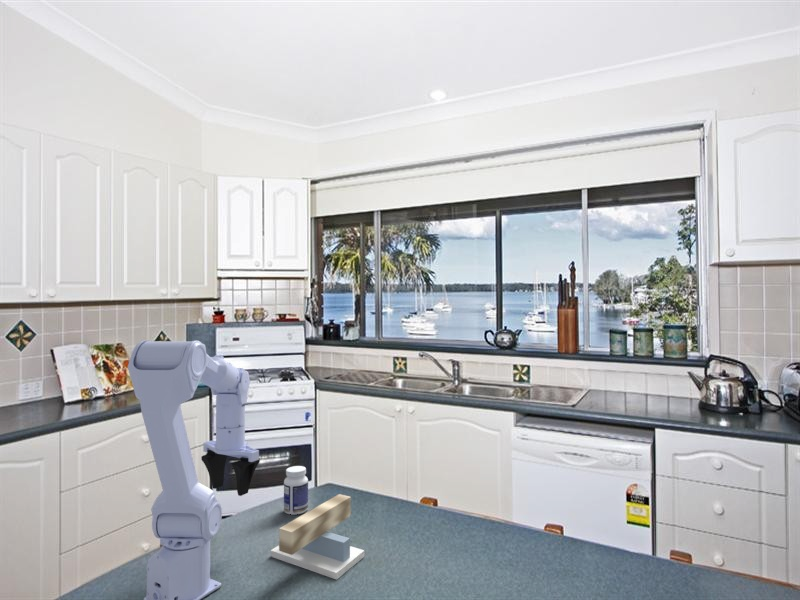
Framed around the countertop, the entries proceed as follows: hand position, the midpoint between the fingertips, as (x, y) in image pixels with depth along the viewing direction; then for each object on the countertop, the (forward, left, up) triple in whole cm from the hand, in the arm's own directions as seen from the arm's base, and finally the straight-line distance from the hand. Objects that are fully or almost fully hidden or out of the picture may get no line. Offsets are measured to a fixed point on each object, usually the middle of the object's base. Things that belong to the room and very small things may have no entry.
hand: (230, 490), depth 99 cm
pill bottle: (+18, -2, -11) cm, 21 cm away
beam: (+4, -20, -6) cm, 21 cm away
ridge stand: (+4, -20, -10) cm, 23 cm away
